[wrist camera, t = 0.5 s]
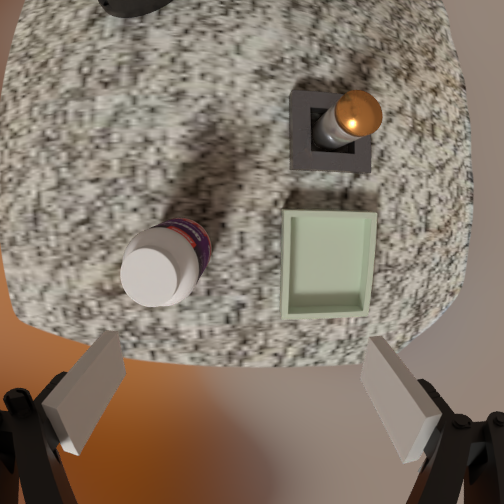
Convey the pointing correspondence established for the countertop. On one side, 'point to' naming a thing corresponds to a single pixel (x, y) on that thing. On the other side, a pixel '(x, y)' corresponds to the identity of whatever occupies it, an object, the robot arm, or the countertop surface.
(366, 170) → the socket block
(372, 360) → the robot arm
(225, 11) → the countertop surface
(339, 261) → the tray
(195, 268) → the pill bottle
